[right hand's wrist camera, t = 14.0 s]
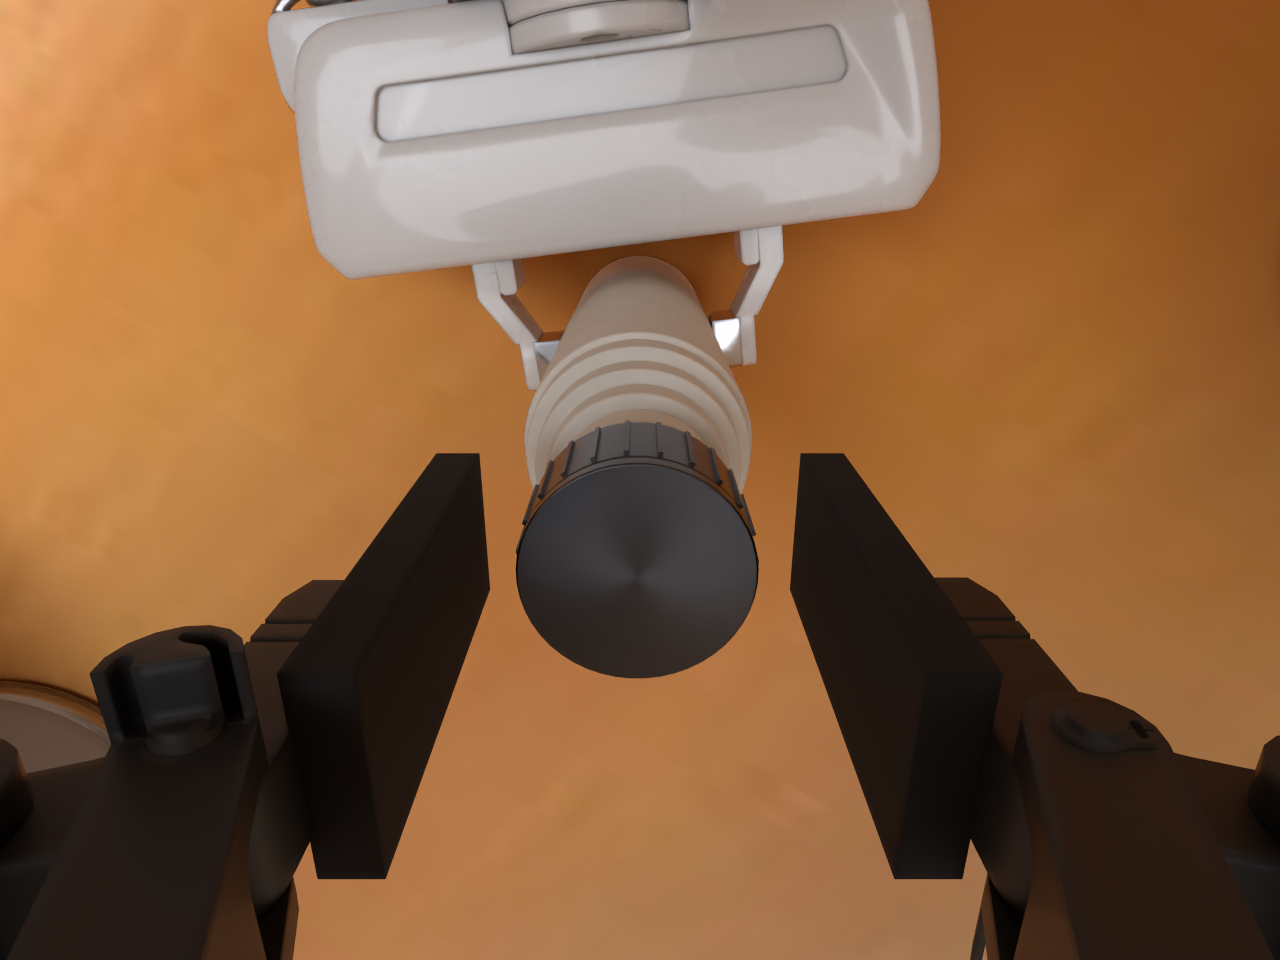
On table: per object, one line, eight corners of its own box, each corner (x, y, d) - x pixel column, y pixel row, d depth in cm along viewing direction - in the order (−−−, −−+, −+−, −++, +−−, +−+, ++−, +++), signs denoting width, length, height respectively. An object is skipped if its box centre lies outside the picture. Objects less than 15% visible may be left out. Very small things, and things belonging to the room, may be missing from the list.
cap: (701, 638, 15) (710, 708, 13) (505, 581, 15) (484, 644, 13) (778, 457, 14) (801, 505, 12) (564, 388, 13) (551, 426, 11)
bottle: (676, 393, 36) (731, 735, 14) (563, 356, 35) (438, 653, 13) (718, 279, 34) (856, 468, 12) (599, 237, 33) (522, 360, 12)
